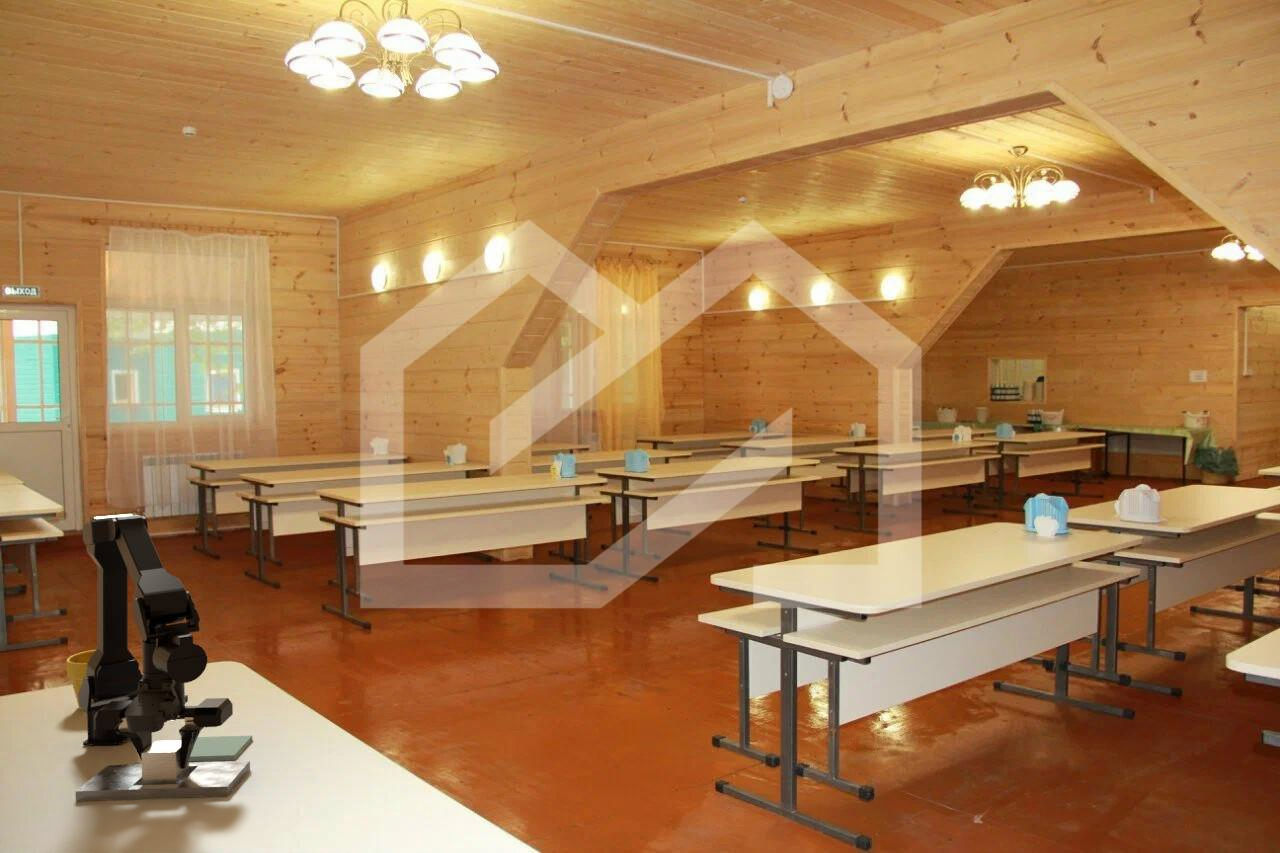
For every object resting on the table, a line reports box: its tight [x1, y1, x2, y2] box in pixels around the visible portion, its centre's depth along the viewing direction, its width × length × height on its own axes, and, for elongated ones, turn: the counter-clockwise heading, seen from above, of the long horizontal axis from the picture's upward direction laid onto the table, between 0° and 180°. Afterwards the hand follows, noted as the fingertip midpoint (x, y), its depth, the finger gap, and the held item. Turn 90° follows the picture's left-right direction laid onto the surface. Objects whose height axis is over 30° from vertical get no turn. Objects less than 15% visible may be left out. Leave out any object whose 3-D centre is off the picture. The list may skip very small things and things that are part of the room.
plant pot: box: [65, 649, 97, 711], centre depth 186 cm, size 10×10×10 cm
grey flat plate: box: [75, 760, 251, 802], centre depth 149 cm, size 22×10×2 cm, turn 94°
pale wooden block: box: [141, 739, 190, 785], centre depth 149 cm, size 5×5×6 cm
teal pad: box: [178, 735, 253, 762], centre depth 163 cm, size 12×9×1 cm
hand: (165, 768), depth 149 cm, fingers closed on pale wooden block, 5 cm apart
